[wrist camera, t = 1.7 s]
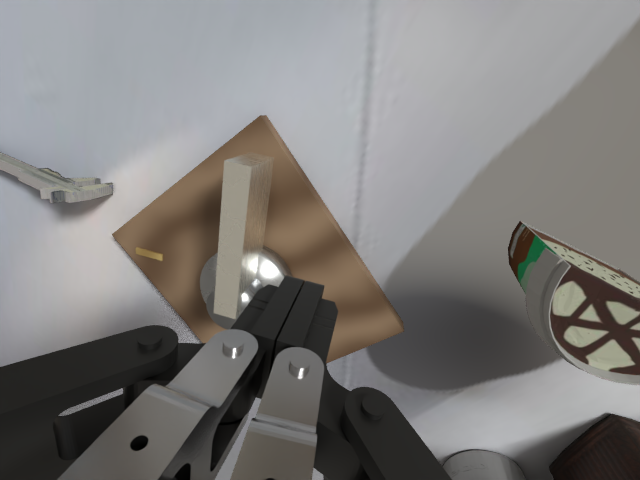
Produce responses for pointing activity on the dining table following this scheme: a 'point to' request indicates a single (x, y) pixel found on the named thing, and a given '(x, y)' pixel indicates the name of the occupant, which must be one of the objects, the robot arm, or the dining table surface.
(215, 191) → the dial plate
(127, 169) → the dining table surface
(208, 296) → the beige bar and knob
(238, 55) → the dining table surface
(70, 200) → the caliper
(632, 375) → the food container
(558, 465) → the dark brown wooden box
